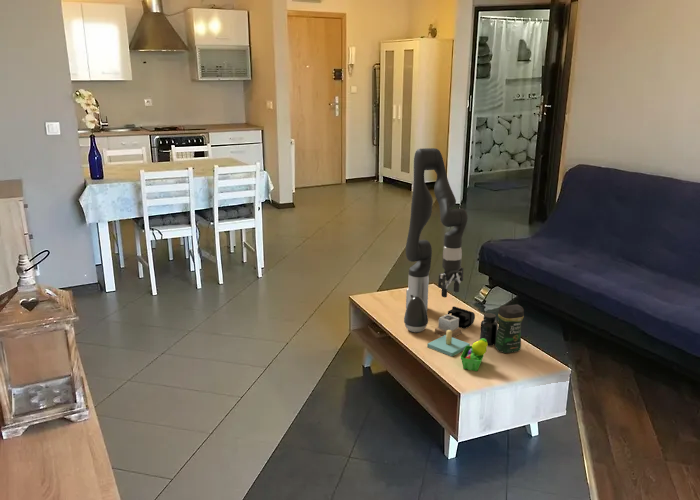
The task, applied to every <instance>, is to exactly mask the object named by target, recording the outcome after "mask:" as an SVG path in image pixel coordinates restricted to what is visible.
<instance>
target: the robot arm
mask: <svg viewBox="0 0 700 500" xmlns="http://www.w3.org/2000/svg"><path fill="white" fill-rule="evenodd" d="M425 171H434V172H435V174H436V181H435V183H434V187H433V188H434V189H433V192H434V195H435V199H436V201H437V204H438V206H439V215H440V216H439V217H440V222H441V224H442V225H443V226H444V227H446V228H451V227H453V228H452V229H451V230H449V231H448V230H447V232H445V233H444V238H443V249H442V250H443V251H442V269H443V270H444V272H443V273H438V281H437V284H438V285H437V287H438V288H440V289H441V297H442V298H447V297H448V287H449V285H451V283H452V282H453V292H455V293H459V292H460V284H461V282H463V281H464V267H462V255H463V254H462V253H463V250H462V242H463V235H464V233H465V229H466V226H467V224H468V223H467V222H468V217H469V216H468V214H467V211H466V210H465V209H464V208H462V207H461V208H453V207H454V206H456V203H457V199H456V197H455V194H454V192H453V190H452V188H451V185H450V183H449V179H448V174H447V170H446V165H445V162H444V158H443V154H442V152H441V151H440V149H438V148H434V147H431V148H430V147H429V148H428V147H427V148H418V149H416V151H415V153H414V156H413V186H412V187H413V188H412V195H411V196H412V197H411V205H410V219H409V226H408V228H409V229H408V233H407V238H406V244H405V256H406V259H407V261H409V262H411V263H414V262H415V263H414V264H413V265H411V266H410V267H409V268H408V284H407V285H408V288H406V295H405V308H407V306H408V303H409V301H410V300H411V296H410V295H413V296H414V297H415V296H418V297H420V298H422V300H423V301H424V304H425V307H426V310H427V311H428V304H429V303H428V302H429V280H430V279H429V277H430V271H431V267H432V255H433V253H432V252H433V251H432V249H433V248H432V244H431V243H430V241H429V240H427V239H420V237H421V233H422V231H423V229H424V228H425V226H426V225H427V223H428V222H429V220H430V218H431V217H432V212H433V203H434V200H433V196H432V194H431V192H430V190H429V188H428V186H427V184H426V181H425Z"/></svg>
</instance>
